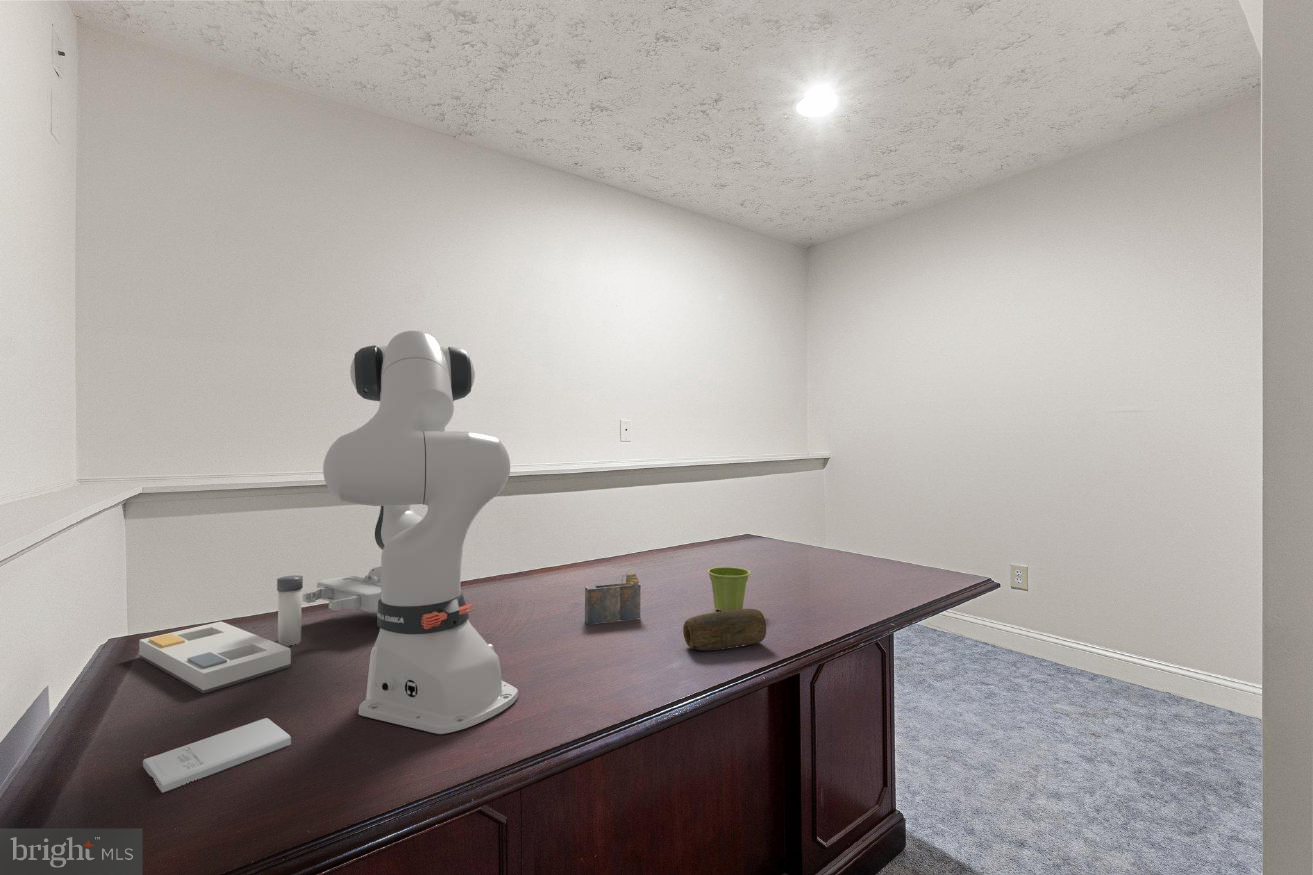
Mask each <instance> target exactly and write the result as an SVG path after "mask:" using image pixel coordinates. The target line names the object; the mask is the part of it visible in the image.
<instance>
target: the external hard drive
mask: <svg viewBox="0 0 1313 875" xmlns="http://www.w3.org/2000/svg"><path fill="white" fill-rule="evenodd" d="M291 745H292V738H291V735H290V734H289V733H287V732H286V731H285V730H284V729H282V728H281V727H280V726H279V725H278V724H276V723H274V722H273V721H272V720H271V719H269V717H266V718H262V719H258V720H256V721H253V722H251V723H248V724H247V723H246V724H245V725H241V726H239V727H235V728H232V729H230V730H226V731H224V732H221V733H217V734H215V735H212V736H210V737H206V738H203V739H200V740H198V741H195V742H191V743H189V744H186V745H183V746H180V747H179V746H178V747H177V748H174V749H171V750H168V751H165V752H163V753H160V754H157V755H154V756H150V757H148V758H144V759H143V760H142V767H143V769H144V770H145V771H146V772H147V774H148V775H149V776H150V777H152V778H153V782H154V781H155V782H154V783H156V784H155V785H156V786H157V787H158V789H159V791H160V792H161V793H165V792H168V791H171V790H174V789H176V788H178V787H182V786H185V785H187V784H189V782H190V781H192V782H195V781H198V780H200V779H203V778H205V777H208V776H211V775H213V774H216V773H219V772H222V771H225V770H226V769H227V770H228V769H229V768H232V767H235V766H237V765H240V764H243V763H245V762H248V761H250V760H251V761H252V760H254V759H257V758H258V757H262V756H265V755H267V754H270V753H272V752H275V751H278V750H280V749H283V748H285V747H288V746H291ZM197 779H198V780H197ZM194 780H195V781H194ZM186 783H187V784H186ZM190 783H191V782H190ZM181 785H182V786H181Z"/></svg>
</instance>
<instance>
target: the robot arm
mask: <svg viewBox="0 0 1313 875" xmlns="http://www.w3.org/2000/svg"><path fill="white" fill-rule="evenodd" d="M349 371H350V379H351V383H352V385H353V387H354V389H355V390H356V393H357V395H359V396H360V397H361V398H362V399H364V400H368V401H373V402H379V407H378V409H377V412H376V413H375V414H374V415H373V417H371V418H370V419H369V420H368V421H367V422H366V423H365V424H364V425H362V426H360V427H359V428H357V429H355V430H353V431H351V432H348V433H346V434H344V435H340V436H339V437H338V438H337V439H336V440H335V441H334V442H333V443H332V445H330V447H329V449H328V450H327V452H326V455H325V457H324V460H323V465H322V472H323V473H322V474H323V479H324V482H325V484H326V487H327V488H328V490H329V492H330V493H331V494H332V495H333V497H335V499H337V500H338V501H339V502H342V503H349V504H354V505H355V504H356V505H363V506H369V507H370V506H372V507H380V511H379V515H378V518H377V521H376V523H375V524H376V525H375V529H374V539H375V543H376V544H377V546H378V547H379V549H381V550H382V552H381V556H380V559H381V561H380V562H381V563H380V566H376V567H373V568H372V569H370V570H369V571H368V574H367V575H365V576H364V577H360V576H356V575H347V576H345V575H344V576H338V577H333V578H332V577H331V578H325V579H321V580H319V581H317V582H316V589H314V590H312V591H308V592H307V591H306V592H305V593H303V594H302V602H304V603H306V604H311V603H315V602H316V601H318V600H323V601H326V602H327V601H328V609H329V610H330V611H333V612H338V611H340V610H341V611H342V610H352V609H356V610H358V611H361V612H362V611H363V612H366V613H376V616H377V618H376V620H377V623H376V624H377V626H378V628H379V631H378V632H379V633H378V634H377V637H376V640H375V642H374V644H373V646H372V649H371V651H370V655H369V665H368V666H369V667H368V675H367V686H366V697H365V699H364V700H363V701H362V702H360V704H359V706H358V715H359V716H361V717H366V718H370V719H374V720H378V721H382V722H387V723H390V724H391V723H392V724H395V725H399V726H403V727H406V728H407V727H408V728H413V729H416V730H420V731H424V732H428V733H432V734H437V735H444V734H449V733H454V732H457V731H461V730H464V729H468V728H470V727H472V726H475V725H477V724H480V723H482V722H484V721H486V720H488V719H491V718H493V717H495V716H496V715H498V714H500V713H501V712H504V710H507V709H508V708H510V707H511V705H513V704H514V703H515V702H516V701H517V699H518V698H519V690H518V688H517V687H515V686H513V685H512V684H510V683H508V682H506V681H504V680H503V679H502V669H501V662H500V658H499V656H498V654H497V653H496V652H495V651H496V650H495V647H494V645H493V644H491V643H487V642H486V641H485V639H484V638H483V637H482V635H481V634H480V633H479V631H477V630H476V628H475V627H474V626H473V625H472V624H471V622H470V621H469V617H470V616H469V613H470V612H473V609H469V608H471V607H472V606H473V605H474V604H473V603H469V604H466V600H465V596H464V593H463V591H461V576H462V575H461V572H462V560H463V559H462V558H463V551H464V550H463V549H464V545H465V540H466V537H467V534H468V531H469V529H470V526H471V525H472V523H473V521H474V520H475V519H476V516H478V514H479V512H481V510H482V509H483V508H484V507H485V506H486V505H487V504H488V503H490V501H491V500H493V499H495V498H496V497H497V496H498V495H499V494H500V493H501V492H502V491H503V489H504V488H505V487H506V485H507V483H508V481H509V477H510V472H511V460H510V455H509V453H508V451H507V449H506V447H505V445H504V444H503V442H502V441H500V440H499V439H498V437H495V436H491V435H487V434H482V433H477V432H472V431H471V432H470V431H446V427H447V425H448V424H449V423H450V421H451V420H452V418H453V414H454V410H455V405H454V401H458V400H461V399H464V398H465V397H467V396H468V395H469V394H470V393H471V391H472V387H473V386H474V383H475V382H474V381H475V379H476V378H475V376H476V373H475V372H476V371H475V368H474V364H473V362H472V360H471V358H470V354H468V352H467V351H466V350H464V349H461V348H458V347H453V346H448V347H441V346H440V344H439V342H438V341H437V340H436V339H435V338H434V337H433V336H431V335H430V334H428V333H426V332H423V331H419V330H405V331H402V332H400V333H398V334H396V335H395V336H393V337H392V338H391V339H390V340H389V342H388V344H387V345H382V346H378V345H369V346H364V347H361V348H360V349H359V350H358V351H356V352H355V353H354V357H353V359H352V362H351V364H350V370H349ZM412 505H424V506H427V511H426V514H425V515H424V517H422V516H419V515H418V514H417V513H415V511H414V510H413V508H412Z"/></svg>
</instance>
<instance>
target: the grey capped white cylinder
mask: <svg viewBox="0 0 1313 875" xmlns="http://www.w3.org/2000/svg"><path fill="white" fill-rule="evenodd" d="M303 580H304V578H303V576H302V575H296V574H295V575H286V576H282V577H277V579H276V591H277V594H278V595H277V596H278V598H277V599H278V601H277V605H278V606H277V610H278V611H277V613H278V614H277V644H280V645H282V646H285V647H291V646H290V645H292V646H296V645H298V644H300V643H301V642H302V589H303V586H304V585H303V584H304V583H303V582H304V581H303ZM295 644H296V645H295Z"/></svg>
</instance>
